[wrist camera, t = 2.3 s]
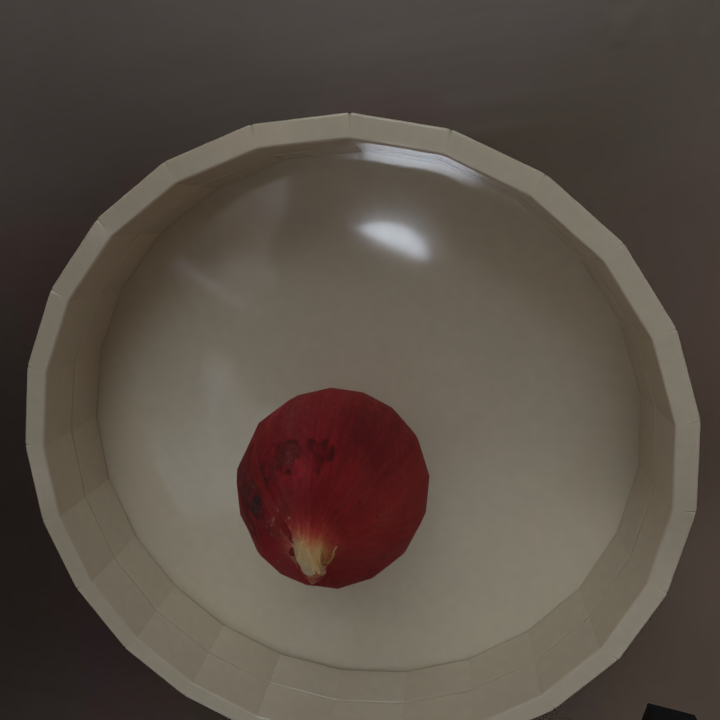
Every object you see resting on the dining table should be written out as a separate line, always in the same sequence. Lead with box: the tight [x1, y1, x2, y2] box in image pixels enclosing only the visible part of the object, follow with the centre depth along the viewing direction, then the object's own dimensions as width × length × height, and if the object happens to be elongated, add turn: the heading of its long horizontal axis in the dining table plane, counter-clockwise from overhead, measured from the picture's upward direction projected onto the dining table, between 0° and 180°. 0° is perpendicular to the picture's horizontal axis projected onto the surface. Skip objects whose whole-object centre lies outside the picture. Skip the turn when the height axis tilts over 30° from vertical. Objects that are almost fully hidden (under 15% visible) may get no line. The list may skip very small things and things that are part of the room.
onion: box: [237, 388, 430, 589], centre depth 18 cm, size 6×6×8 cm
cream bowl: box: [26, 113, 700, 720], centre depth 20 cm, size 21×21×4 cm
